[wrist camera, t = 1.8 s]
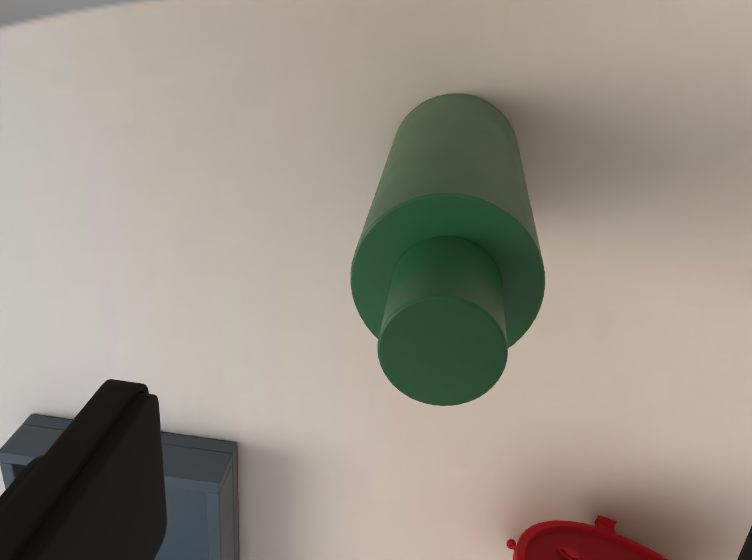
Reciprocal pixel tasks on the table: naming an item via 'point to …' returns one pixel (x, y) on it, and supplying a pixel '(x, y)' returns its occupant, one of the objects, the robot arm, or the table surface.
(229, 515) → the tray
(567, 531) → the alarm clock
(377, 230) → the loose bottle
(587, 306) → the table surface
